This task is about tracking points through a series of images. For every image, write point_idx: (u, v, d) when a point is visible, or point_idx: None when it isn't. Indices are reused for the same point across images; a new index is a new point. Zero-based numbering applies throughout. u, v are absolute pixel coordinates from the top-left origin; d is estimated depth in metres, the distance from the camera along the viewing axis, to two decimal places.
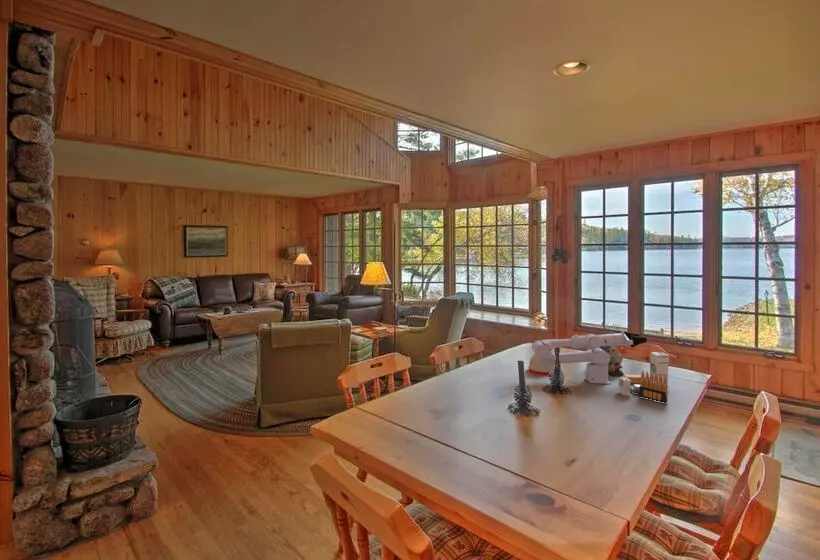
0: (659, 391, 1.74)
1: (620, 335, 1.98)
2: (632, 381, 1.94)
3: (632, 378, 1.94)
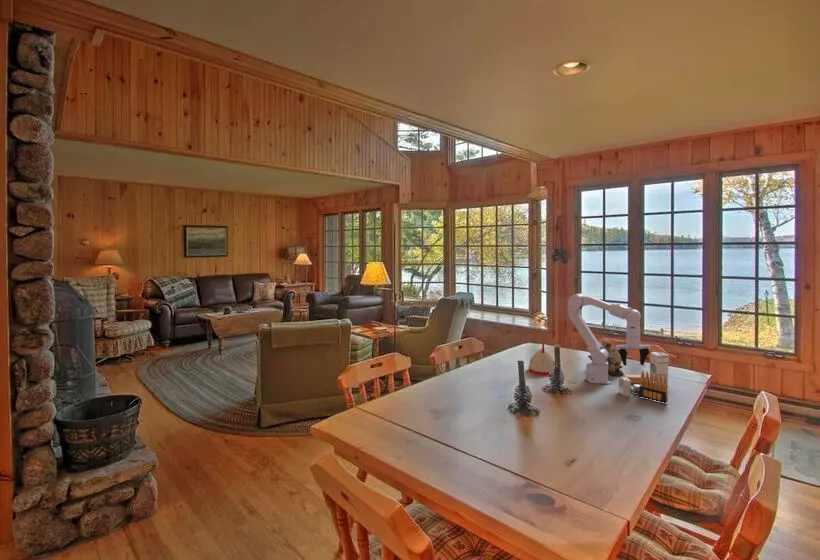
0: (659, 391, 1.74)
1: (631, 343, 1.90)
2: (632, 381, 1.94)
3: (632, 378, 1.94)
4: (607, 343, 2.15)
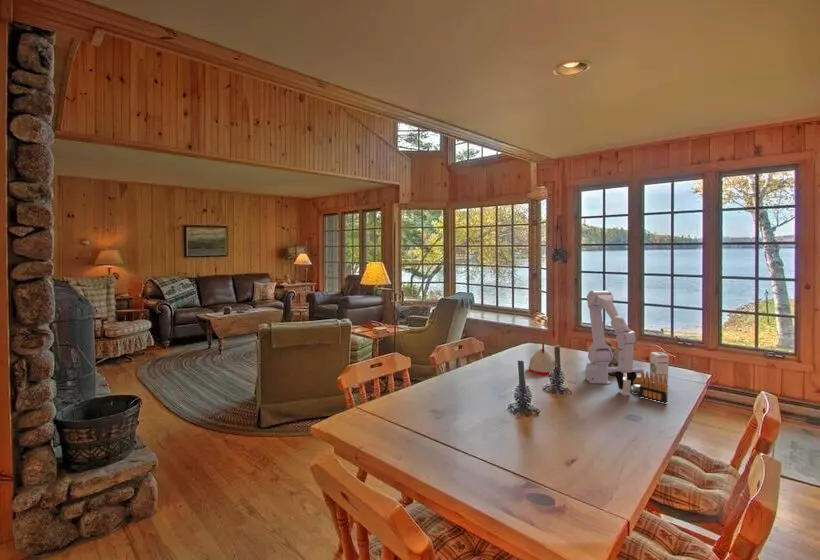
0: (659, 391, 1.74)
1: (623, 366, 1.81)
2: None
3: None
4: (607, 343, 2.15)
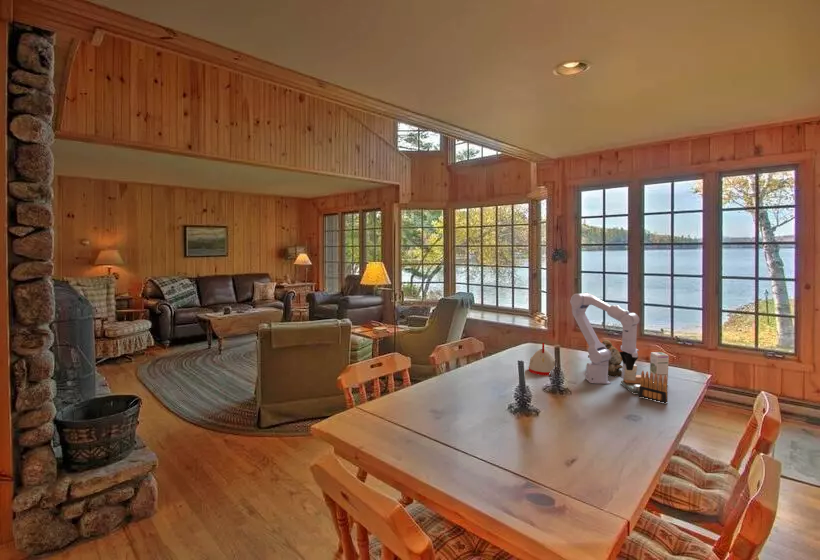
0: (659, 391, 1.74)
1: (635, 347, 1.88)
2: (632, 381, 1.94)
3: None
4: (607, 343, 2.15)
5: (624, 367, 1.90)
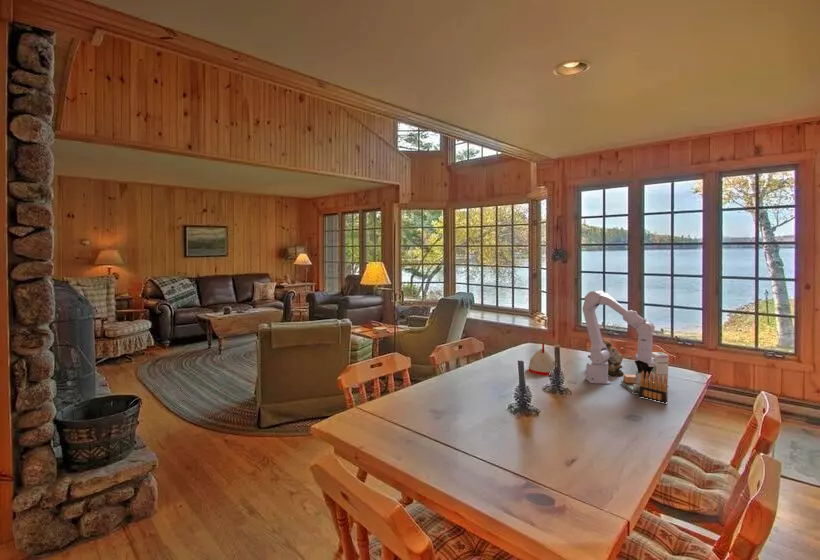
0: (659, 391, 1.74)
1: (651, 356, 1.85)
2: (632, 381, 1.94)
3: (632, 378, 1.94)
4: (607, 343, 2.15)
5: (637, 376, 1.88)
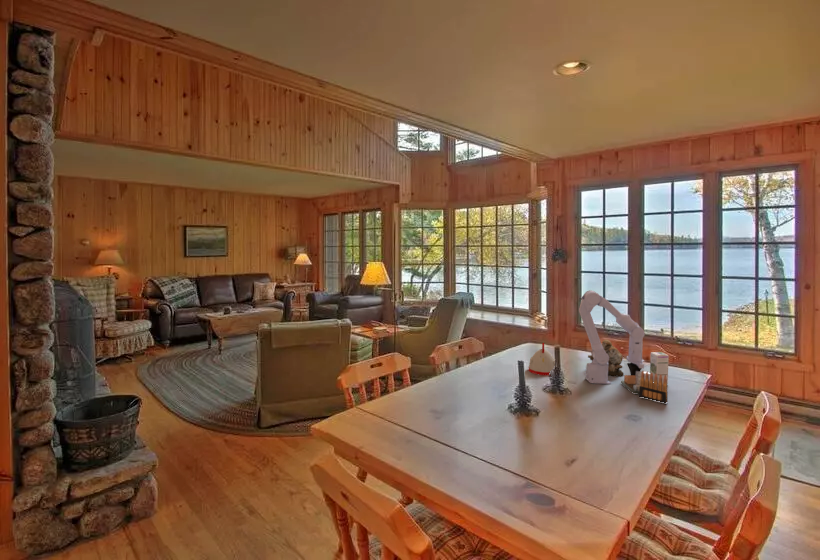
0: (659, 391, 1.74)
1: (641, 358, 1.95)
2: (633, 382, 1.93)
3: (633, 379, 1.93)
4: (607, 343, 2.15)
5: (637, 376, 1.88)
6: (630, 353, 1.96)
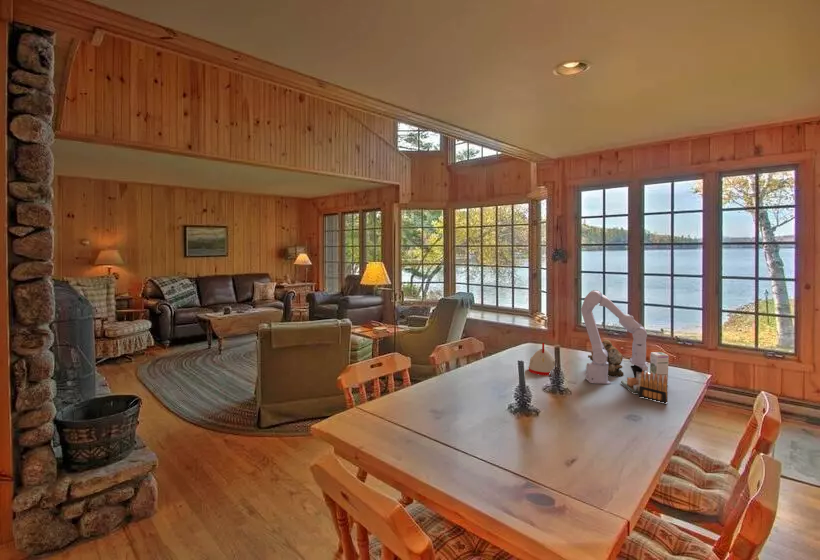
0: (659, 391, 1.74)
1: (645, 360, 1.91)
2: None
3: None
4: (607, 343, 2.15)
5: (638, 376, 1.87)
6: (633, 355, 1.92)
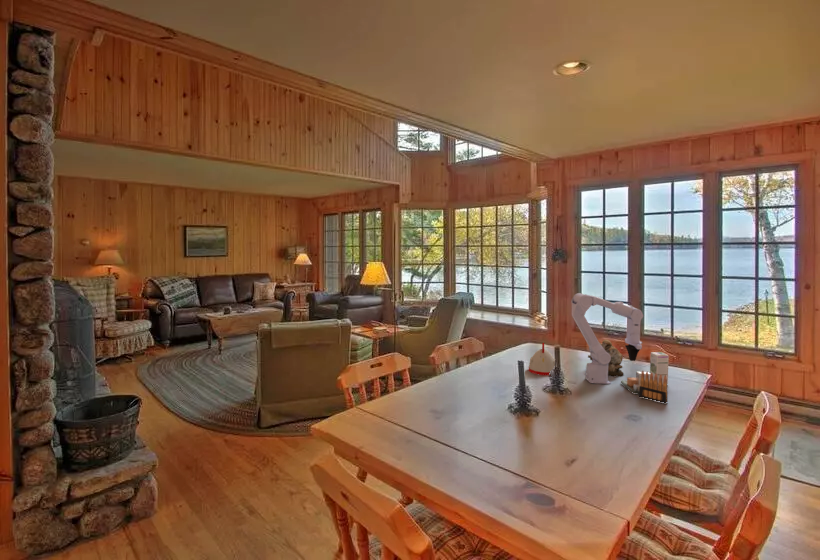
0: (659, 391, 1.74)
1: (639, 339, 1.98)
2: None
3: None
4: (607, 343, 2.15)
5: (638, 376, 1.87)
6: (628, 335, 1.99)
